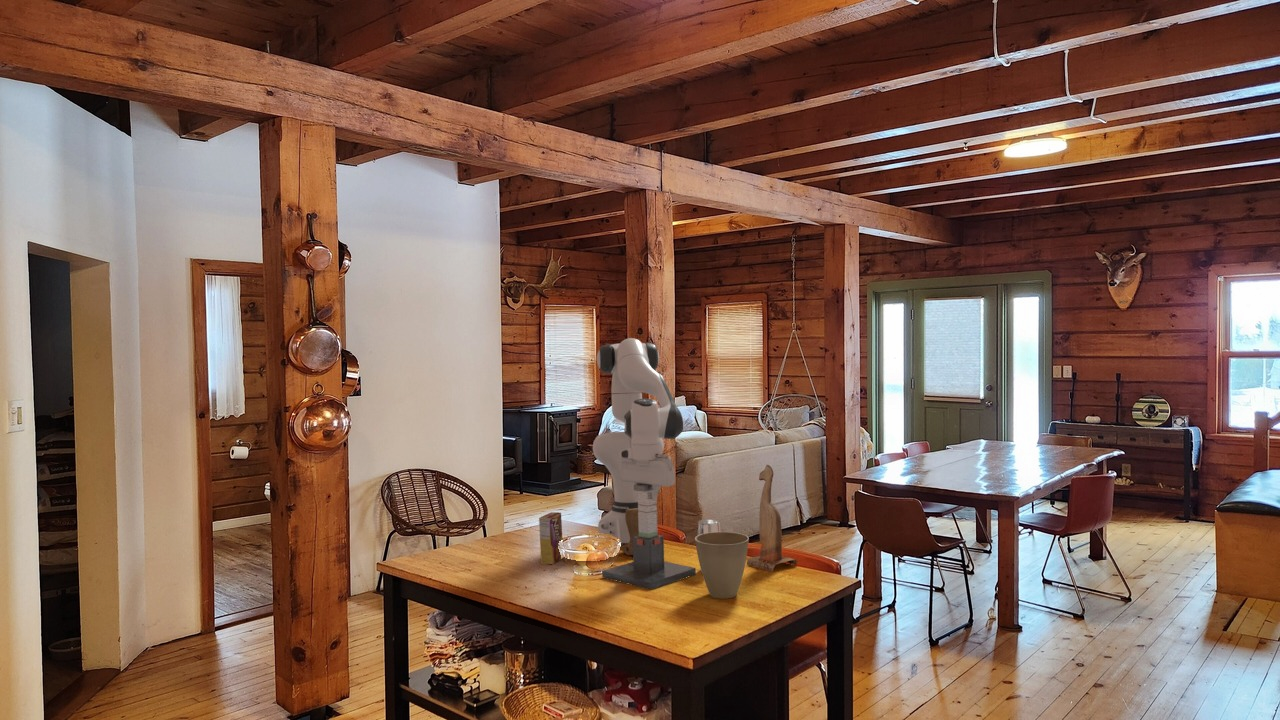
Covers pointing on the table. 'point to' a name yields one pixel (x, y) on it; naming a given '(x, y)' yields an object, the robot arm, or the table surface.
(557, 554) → the candy box
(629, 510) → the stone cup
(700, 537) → the plant pot
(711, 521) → the beer glass
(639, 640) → the table surface
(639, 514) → the light grey tall block
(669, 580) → the stand
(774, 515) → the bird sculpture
